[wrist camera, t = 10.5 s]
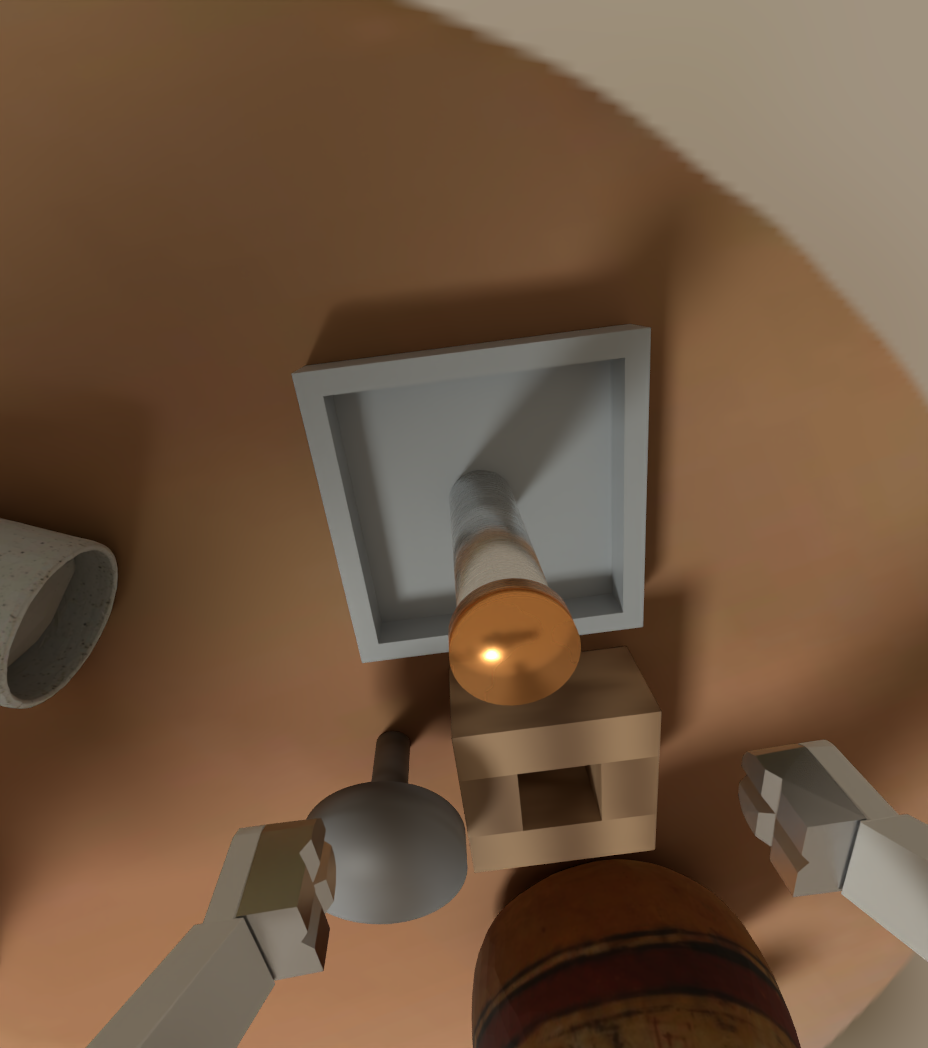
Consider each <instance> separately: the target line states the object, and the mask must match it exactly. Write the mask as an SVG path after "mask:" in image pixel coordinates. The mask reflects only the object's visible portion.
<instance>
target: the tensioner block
mask: <svg viewBox="0 0 928 1048" xmlns="http://www.w3.org/2000/svg"><path fill="white" fill-rule="evenodd" d="M449 683H450V709H451V735H452V743H453V749H454V755H455V761H456V767H457V773H458V779H459V784H460V790H461V796H462V802H463V808H464V814H465V820H466V826H467V831H468V837H469V843H470V849H471V855H472V861H473V867H474V873H478V872H486V871H493V870H501V869H509V868H517V867H525V866H532V865H540V864H548V863H556V862H564V861H572V860H579V859H587V858H595V857H603V856H611V855H618V854H626V853H634V852H642V851H650V850H655V838H656V817H657V796H658V775H659V754H660V733H661V712H662V711H661V710H660V708H659V706H658V704H657V702H656V700H655V698H654V697H653V695H652V693H651V691H650V689H649V687H648V685H647V684H646V682H645V680H644V678H643V676H642V674H641V672H640V671H639V669H638V667H637V665H636V663H635V661H634V659H633V658H632V656H631V654H630V652H629V650H628V648H627V647H626V646H625V647H617V648H609V649H601V650H593V651H586V652H581V653H580V658H579V662H578V664H577V667H576V669H575V671H574V672H573V674H572V675H571V677H570V678H569V679H568V681H567V682H566V683H565V684H564V685H563V686H562V687H560V688H559V689H558V690H557V691H555V692H554V693H552V694H551V695H549V696H547V697H545V698H543V699H540V700H538V701H535V702H532V703H528V704H522V705H513V706H510V705H497V704H492V703H488V702H485V701H483V700H480V699H478V698H476V697H474V696H473V695H471V694H470V693H468V692H467V691H466V690H465V689H464V688H462V686H461V685H460V684H459V683H458V682H457V680H456V678H455V677H454V675H453V672H452V670H451V669H449ZM409 755H410V741H409V738H408V737H407V736H406V735H405V734H403V733H401V732H396V731H390V732H386V733H384V734H382V735H381V736H380V737H379V738H378V739H377V743H376V750H375V758H374V766H373V774H372V782H367V783H361V784H357V785H353V786H350V787H347V788H344V789H342V790H339V791H337V792H335V793H333V794H331V795H329V796H328V797H326V798H325V799H324V800H322V801H321V802H320V803H319V804H318V805H317V806H315V807H314V809H313V810H312V811H311V812H310V814H309V815H308V817H307V819H306V820H308V819H316V818H322V821H323V823H324V826H325V828H326V832H325V838H324V841H325V842H327V843H328V844H330V845H331V846H332V849H333V852H334V856H335V862H336V888H335V896H334V902H333V903H332V905H331V906H330V908H329V909H328V910H327V913H329V914H331V915H333V916H336V917H339V918H342V919H345V920H349V921H353V922H359V923H367V924H392V923H400V922H406V921H410V920H414V919H417V918H420V917H423V916H426V915H428V914H430V913H432V912H435V911H436V910H438V909H440V908H441V907H443V906H444V905H446V904H447V903H448V902H450V901H451V900H452V899H453V898H454V897H455V896H456V894H457V893H458V892H459V891H460V889H461V887H462V886H463V884H464V881H465V878H466V875H467V853H466V835H465V827H464V823H463V821H462V819H461V817H460V815H459V813H458V812H457V810H456V809H455V808H454V807H453V806H452V805H451V804H450V803H449V802H448V801H447V800H445V799H444V798H443V797H441V796H439V795H438V794H436V793H434V792H432V791H430V790H428V789H425V788H423V787H420V786H416V785H413V784H408V773H409Z"/></svg>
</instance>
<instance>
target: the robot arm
mask: <svg viewBox="0 0 928 1048" xmlns="http://www.w3.org/2000/svg"><path fill="white" fill-rule="evenodd" d="M741 766H742V768H743V769H744V771H745V772H746V774H747V775H746V776H745V777H744V778H743V779H742V780H741V781H740V782H739V793H738V796H739V800H740V805H741V809H742V812H743V814H744V817H745V819H746V821H747V823H748V825H749V827H750V828H751V830H752V832H753V833H754V835H755V836H756V837H757V838H759V839H760V840H762V841H763V842H765V843H766V844H768V845H769V846H771V849H770V861H771V863H772V864H773V866H774V867H775V869H776V871H777V872H778V874H779V875H780V877H781V879H782V880H783V882H784V883H785V885H786V887H787V888H788V890H789V891H790V893H791V895H792V896H793V897H797V896H805V895H813V894H821V893H829V892H837V891H842V893H841V894H842V895H843V896H845V897H846V898H847V899H848V900H850V901H851V902H852V903H854V904H855V905H856V906H857V907H859V908H860V909H861V910H862V911H864V912H865V913H866V914H868V915H869V916H870V917H871V918H873V919H874V920H875V921H876V922H878V923H879V924H880V925H882V926H883V927H884V928H885V929H887V930H888V931H889V932H891V933H892V934H893V935H894V936H896V937H897V938H898V939H899V940H901V941H902V942H903V943H905V944H906V945H907V946H908V947H910V948H911V949H912V950H913V951H915V952H916V953H917V954H919V955H920V956H921V957H922V958H924V959H925V960H926V961H928V825H927V824H925V823H923V822H921V821H919V820H918V819H916V818H914V817H912V816H910V815H908V814H903V815H898V814H897V812H896V811H895V810H894V809H893V808H892V807H891V806H890V805H889V804H888V803H887V802H886V801H885V800H884V798H883V797H882V796H881V795H880V794H879V793H878V792H877V791H876V790H875V789H874V788H873V787H872V786H871V784H870V783H869V782H868V781H867V780H866V779H865V778H864V777H863V776H862V775H861V774H860V773H859V772H858V770H857V769H856V768H855V767H854V766H853V765H852V764H851V763H850V762H849V761H848V760H847V759H846V757H845V756H844V755H843V754H842V753H841V752H840V751H839V750H838V749H837V748H836V747H835V746H834V745H833V744H832V743H831V742H829V741H827V740H817V741H811V742H805V743H799V744H795V743H794V744H788V745H782V746H776V747H770V748H764V749H758V750H753V751H747V752H746V753H745V754H744V755H743V758H742V765H741ZM325 832H326V828H325V826H324V823H323V821H322V818H316V819H308V820H299V821H291V822H283V823H275V824H267V825H260V826H253V827H246V828H239V830H238V831H237V833H236V834H235V836H234V837H233V839H232V842H231V844H230V847H229V850H228V853H227V856H226V859H225V861H224V864H223V867H222V870H221V873H220V876H219V879H218V881H217V884H216V887H215V890H214V893H213V896H212V899H211V901H210V904H209V907H208V910H207V913H206V916H205V918H204V921H203V923H202V924H197V925H194V926H193V927H192V928H191V929H190V930H189V932H188V933H187V934H186V935H185V936H184V937H183V938H182V939H181V941H180V942H179V943H178V944H177V945H176V946H175V947H174V949H173V950H172V951H171V952H170V953H169V954H168V955H167V956H166V958H165V959H164V960H163V961H162V962H161V963H160V964H159V965H158V967H157V968H156V969H155V970H154V971H153V972H152V973H151V975H150V976H149V977H148V978H147V979H146V980H145V981H144V982H143V984H142V985H141V986H140V987H139V988H138V989H137V990H136V991H135V993H134V994H133V995H132V996H131V997H130V998H129V999H128V1000H127V1002H126V1003H125V1004H124V1005H123V1006H122V1007H121V1008H120V1010H119V1011H118V1012H117V1013H116V1014H115V1015H114V1016H113V1017H112V1019H111V1020H110V1021H109V1022H108V1023H107V1024H106V1025H105V1026H104V1028H103V1029H102V1030H101V1031H100V1032H99V1033H98V1034H97V1036H96V1037H95V1038H94V1039H93V1040H92V1041H91V1042H90V1043H89V1045H88V1046H87V1047H86V1048H237V1046H238V1044H239V1043H240V1041H241V1039H242V1038H243V1036H244V1034H245V1033H246V1031H247V1030H248V1028H249V1026H250V1025H251V1023H252V1021H253V1020H254V1018H255V1016H256V1015H257V1013H258V1011H259V1010H260V1008H261V1006H262V1005H263V1003H264V1002H265V1000H266V998H267V997H268V995H269V993H270V992H271V990H272V988H273V987H274V985H275V982H274V980H280V979H285V978H290V977H295V976H301V975H306V974H311V973H316V972H322V971H324V964H325V958H326V951H327V944H328V938H329V931H330V927H329V925H328V922H327V919H326V916H325V913H326V912H327V910H328V909H329V908H330V906H331V905H332V903H333V902H334V896H335V888H336V862H335V856H334V852H333V849H332V846H331V845H330V844H328V843H327V842H325V841H324V838H325Z"/></svg>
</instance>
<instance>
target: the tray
mask: <svg viewBox="0 0 928 1048" xmlns="http://www.w3.org/2000/svg"><path fill="white" fill-rule="evenodd" d="M650 347H651V327H645V326H640V325H634V324H625V325H617V326H609V327H601V328H594V329H586V330H578V331H570V332H563V333H555V334H547V335H539V336H531V337H524V338H516V339H508V340H500V341H493V342H485V343H477V344H469V345H461V346H454V347H446V348H438V349H430V350H423V351H415V352H407V353H399V354H391V355H384V356H376V357H368V358H360V359H353V360H345V361H337V362H329V363H321V364H314V365H306V366H304V367H302V368H300V369H299V370H297V371H295V372H293V373H292V378H293V382H294V386H295V390H296V394H297V399H298V403H299V407H300V411H301V415H302V419H303V423H304V427H305V431H306V435H307V439H308V444H309V448H310V452H311V456H312V460H313V464H314V468H315V472H316V476H317V480H318V484H319V488H320V493H321V497H322V501H323V505H324V509H325V513H326V517H327V521H328V525H329V529H330V533H331V538H332V542H333V546H334V550H335V554H336V558H337V562H338V566H339V570H340V574H341V578H342V583H343V587H344V591H345V595H346V599H347V603H348V607H349V611H350V615H351V619H352V623H353V628H354V632H355V636H356V640H357V644H358V648H359V652H360V656H361V660H362V663H366V662H374V661H382V660H389V659H397V658H405V657H413V656H421V655H428V654H436V653H444V652H449V642H448V630H449V624H450V620H451V617H452V615H453V613H454V611H455V609H456V607H457V605H456V591H455V578H454V564H453V550H452V536H451V523H450V509H449V495H450V491H451V489H452V487H453V485H454V484H455V482H456V481H457V480H458V479H459V478H460V477H462V476H463V475H465V474H467V473H469V472H472V471H476V470H488V471H492V472H495V473H497V474H498V475H500V476H501V477H503V478H504V479H505V480H506V482H507V483H508V484H509V486H510V488H511V491H512V494H513V496H514V499H515V501H516V504H517V506H518V509H519V512H520V514H521V517H522V519H523V522H524V525H525V527H526V530H527V532H528V535H529V537H530V540H531V543H532V545H533V548H534V550H535V553H536V556H537V558H538V561H539V563H540V566H541V568H542V571H543V574H544V576H545V579H546V581H547V584H548V586H549V588H551V589H552V590H553V591H555V592H556V593H557V594H558V595H559V596H560V597H561V598H562V599H563V601H564V602H565V604H566V605H567V607H568V609H569V611H570V614H571V616H572V619H573V621H574V623H575V626H576V628H577V630H578V633H579V635H584V634H592V633H600V632H608V631H615V630H623V629H631V628H639V627H643V610H644V573H645V535H646V497H647V460H648V422H649V384H650Z"/></svg>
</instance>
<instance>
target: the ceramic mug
mask: <svg viewBox="0 0 928 1048" xmlns="http://www.w3.org/2000/svg"><path fill="white" fill-rule="evenodd" d="M117 572H118V567H117V563H116V558H115V556H114V554H113V553H112V551H111V550H110V549H109V548H108V547H107V546H105V545H103V544H101V543H98V542H96V541H93V540H88V539H84V538H80V537H75V536H71V535H67V534H63V533H59V532H55V531H51V530H47V529H43V528H39V527H35V526H31V525H27V524H23V523H19V522H15V521H11V520H6V519H2V518H0V705H1V706H4V707H8V708H19V709H23V708H30V707H33V706H36V705H38V704H40V703H42V702H44V701H46V700H47V699H49V698H50V697H52V696H53V695H55V694H56V693H57V692H58V691H59V690H60V689H61V688H63V687H64V686H65V685H66V684H67V683H68V682H69V681H70V680H71V678H72V677H73V676H74V675H75V674H76V672H77V671H78V670H79V669H80V668H81V666H82V665H83V663H84V662H85V661H86V659H87V658H88V657H89V655H90V654H91V652H92V650H93V648H94V647H95V645H96V643H97V641H98V639H99V638H100V636H101V634H102V632H103V629H104V627H105V625H106V623H107V621H108V618H109V616H110V613H111V611H112V607H113V602H114V599H115V593H116V590H117V580H118V573H117Z"/></svg>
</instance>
